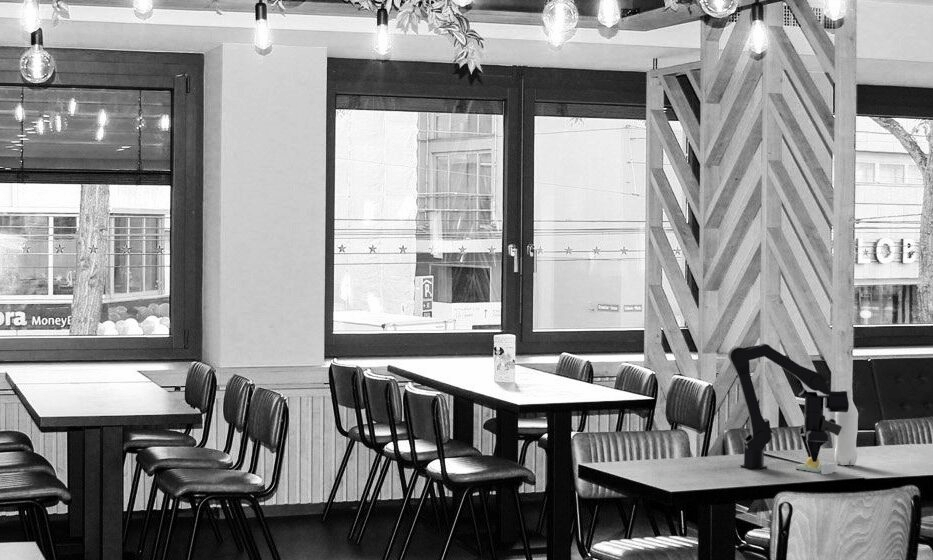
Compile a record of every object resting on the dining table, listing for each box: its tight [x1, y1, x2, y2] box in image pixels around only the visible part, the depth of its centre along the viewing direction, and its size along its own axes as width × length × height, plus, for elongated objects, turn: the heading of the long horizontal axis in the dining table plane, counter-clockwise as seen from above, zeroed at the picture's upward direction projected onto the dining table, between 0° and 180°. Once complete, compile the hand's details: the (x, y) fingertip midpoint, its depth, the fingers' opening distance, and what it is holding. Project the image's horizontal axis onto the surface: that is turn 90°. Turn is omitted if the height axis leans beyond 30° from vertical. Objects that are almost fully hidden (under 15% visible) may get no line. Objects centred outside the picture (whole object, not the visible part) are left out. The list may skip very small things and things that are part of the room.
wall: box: [820, 462, 837, 475], centre depth 369 cm, size 7×1×3 cm, turn 133°
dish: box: [795, 463, 822, 473], centre depth 375 cm, size 8×8×1 cm
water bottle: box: [834, 388, 859, 466], centre depth 387 cm, size 7×7×25 cm
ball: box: [805, 457, 820, 468], centre depth 375 cm, size 4×4×4 cm
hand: (812, 460), depth 375 cm, fingers open, 7 cm apart
